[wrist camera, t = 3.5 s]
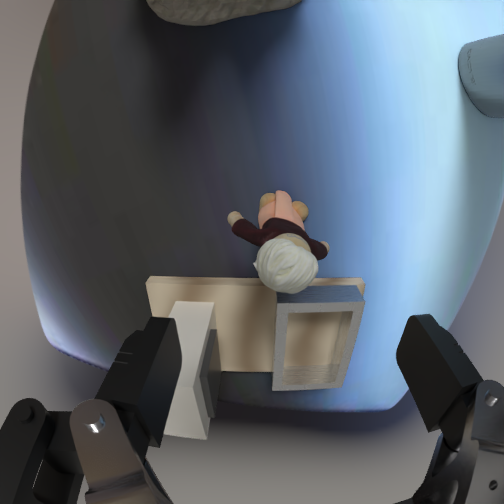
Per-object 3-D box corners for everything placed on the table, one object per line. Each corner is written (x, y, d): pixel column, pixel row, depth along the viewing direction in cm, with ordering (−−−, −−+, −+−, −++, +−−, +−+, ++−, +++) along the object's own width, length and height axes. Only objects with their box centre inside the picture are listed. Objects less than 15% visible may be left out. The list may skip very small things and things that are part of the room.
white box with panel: (220, 302, 28) (201, 388, 17) (225, 359, 31) (213, 440, 21) (175, 300, 28) (140, 381, 18) (186, 357, 31) (164, 434, 21)
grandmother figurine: (322, 195, 25) (372, 250, 13) (314, 235, 26) (351, 315, 14) (236, 182, 24) (213, 228, 13) (232, 223, 26) (208, 299, 14)
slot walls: (356, 284, 26) (365, 301, 24) (337, 369, 31) (341, 387, 28) (275, 285, 27) (277, 303, 24) (271, 371, 31) (272, 390, 29)
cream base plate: (361, 277, 28) (365, 284, 26) (342, 360, 32) (344, 368, 31) (150, 276, 28) (145, 282, 27) (168, 358, 33) (166, 366, 32)
